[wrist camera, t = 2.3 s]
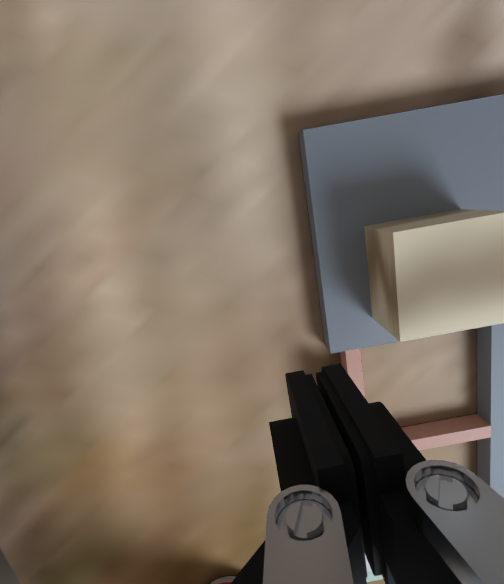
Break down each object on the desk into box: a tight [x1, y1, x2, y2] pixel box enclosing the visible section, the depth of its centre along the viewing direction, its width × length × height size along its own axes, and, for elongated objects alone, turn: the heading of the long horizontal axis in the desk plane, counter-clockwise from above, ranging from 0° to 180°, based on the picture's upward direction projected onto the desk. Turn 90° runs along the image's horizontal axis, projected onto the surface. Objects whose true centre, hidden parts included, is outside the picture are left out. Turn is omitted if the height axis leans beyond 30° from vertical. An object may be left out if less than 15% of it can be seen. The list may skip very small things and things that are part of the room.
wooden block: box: [364, 209, 504, 342], centre depth 20 cm, size 6×6×4 cm
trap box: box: [298, 94, 504, 582], centre depth 24 cm, size 32×22×4 cm
